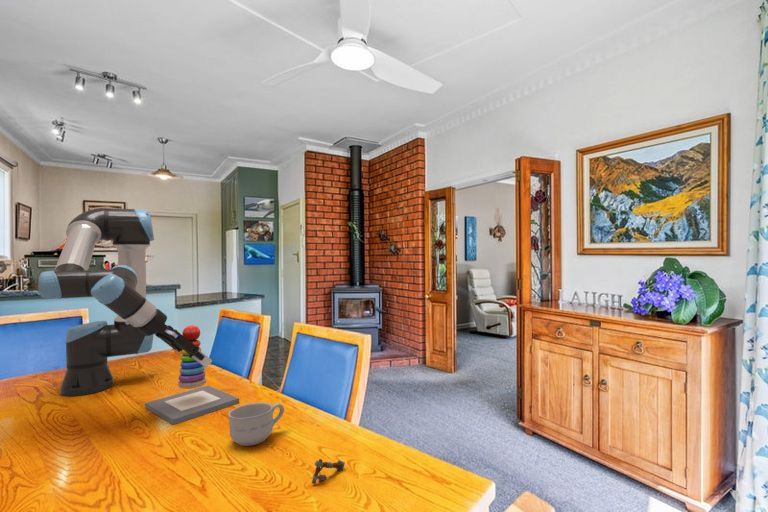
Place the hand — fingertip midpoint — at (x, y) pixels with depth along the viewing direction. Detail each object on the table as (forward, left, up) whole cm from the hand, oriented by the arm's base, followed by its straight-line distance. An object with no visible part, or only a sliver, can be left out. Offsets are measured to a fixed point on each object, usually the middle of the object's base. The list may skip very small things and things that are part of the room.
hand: (203, 362), depth 123 cm
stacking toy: (0, -4, -7) cm, 8 cm away
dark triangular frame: (+62, -4, -13) cm, 64 cm away
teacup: (+36, -3, -13) cm, 38 cm away
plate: (0, -3, -13) cm, 13 cm away
